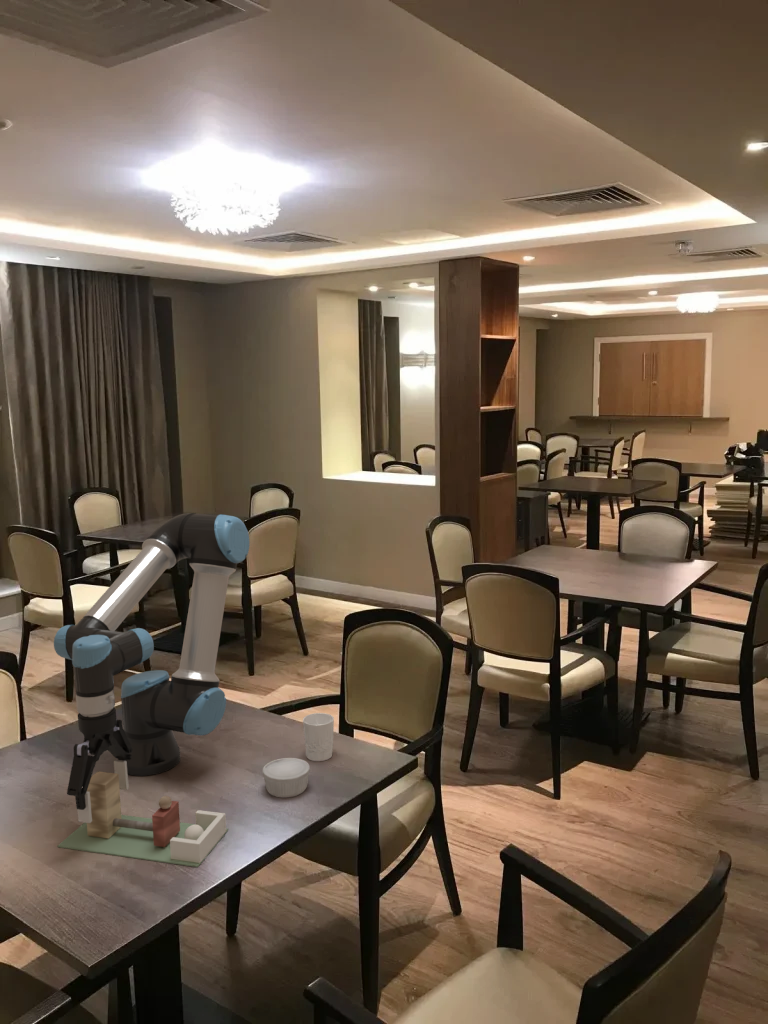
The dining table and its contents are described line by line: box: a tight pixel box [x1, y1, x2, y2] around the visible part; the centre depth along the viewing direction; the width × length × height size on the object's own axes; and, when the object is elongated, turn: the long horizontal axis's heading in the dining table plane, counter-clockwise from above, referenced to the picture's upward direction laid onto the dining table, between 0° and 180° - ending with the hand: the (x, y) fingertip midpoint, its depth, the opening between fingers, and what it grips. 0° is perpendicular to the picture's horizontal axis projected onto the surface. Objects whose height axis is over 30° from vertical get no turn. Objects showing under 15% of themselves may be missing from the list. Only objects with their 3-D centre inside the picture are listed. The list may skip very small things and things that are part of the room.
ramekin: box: [262, 757, 311, 799], centre depth 188 cm, size 11×11×5 cm
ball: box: [184, 825, 204, 840], centre depth 165 cm, size 4×4×4 cm
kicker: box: [87, 771, 180, 847], centre depth 167 cm, size 18×6×12 cm, turn 76°
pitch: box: [57, 814, 229, 868], centre depth 168 cm, size 32×14×1 cm, turn 76°
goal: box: [170, 809, 227, 864], centre depth 164 cm, size 6×12×4 cm, turn 166°
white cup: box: [302, 712, 335, 762], centre depth 204 cm, size 8×8×10 cm
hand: (104, 804), depth 169 cm, fingers open, 13 cm apart
